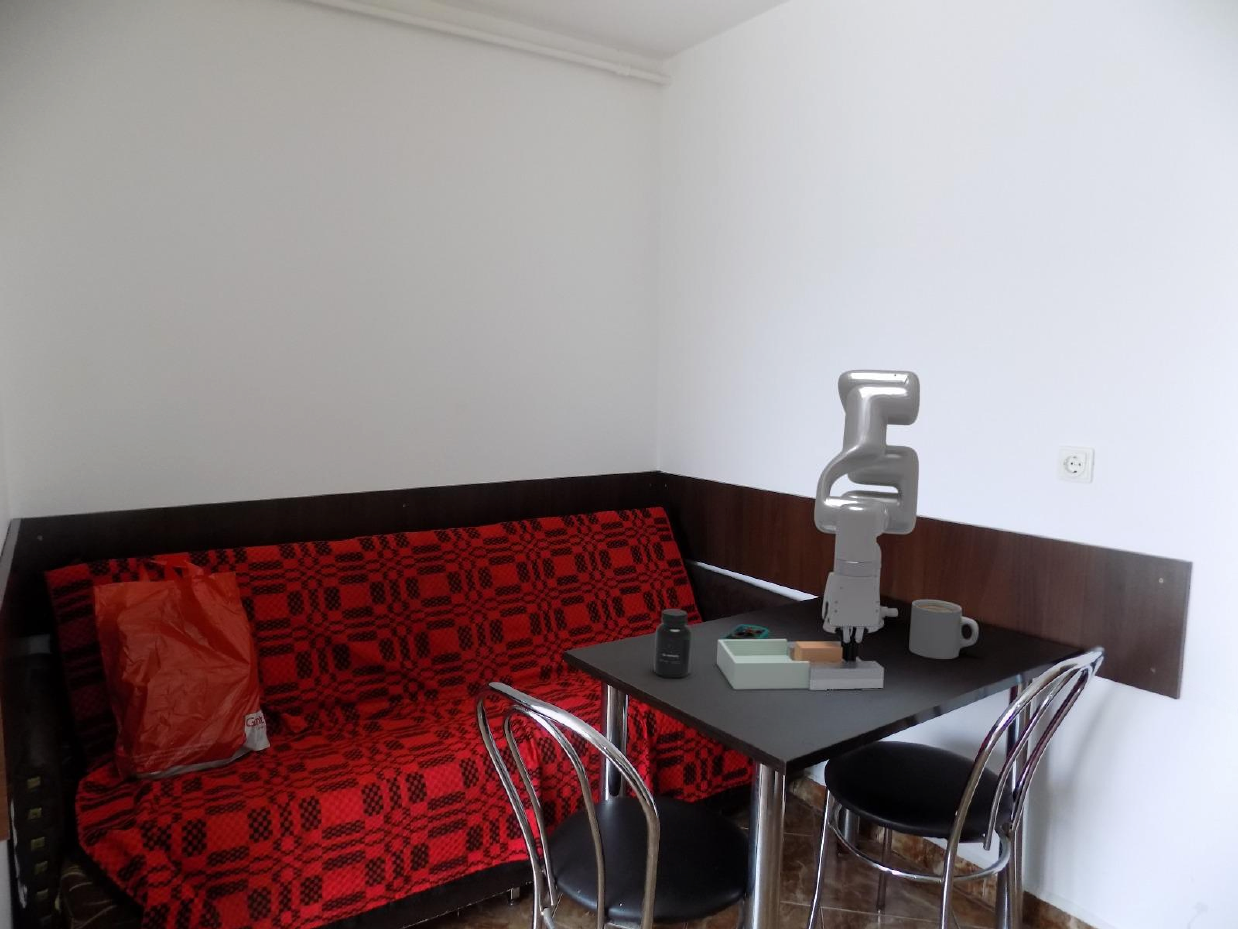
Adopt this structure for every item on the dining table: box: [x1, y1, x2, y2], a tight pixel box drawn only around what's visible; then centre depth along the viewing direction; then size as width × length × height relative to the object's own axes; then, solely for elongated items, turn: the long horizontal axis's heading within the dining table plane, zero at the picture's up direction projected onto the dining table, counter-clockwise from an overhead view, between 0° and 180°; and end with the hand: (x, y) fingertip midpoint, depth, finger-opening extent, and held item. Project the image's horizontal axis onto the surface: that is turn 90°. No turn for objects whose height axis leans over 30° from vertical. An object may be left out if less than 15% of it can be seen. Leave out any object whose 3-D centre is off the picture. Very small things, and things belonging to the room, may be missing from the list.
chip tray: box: [716, 638, 809, 690], centre depth 161 cm, size 14×14×5 cm
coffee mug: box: [908, 599, 980, 660], centre depth 178 cm, size 13×10×10 cm
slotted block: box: [786, 640, 885, 691], centre depth 163 cm, size 14×16×4 cm
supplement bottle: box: [653, 608, 692, 679], centre depth 161 cm, size 7×7×12 cm
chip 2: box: [815, 640, 843, 662], centre depth 163 cm, size 4×4×4 cm
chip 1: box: [794, 640, 822, 662], centre depth 162 cm, size 4×4×4 cm
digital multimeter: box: [720, 623, 771, 640], centre depth 181 cm, size 7×15×3 cm, turn 154°
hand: (848, 660), depth 163 cm, fingers closed
